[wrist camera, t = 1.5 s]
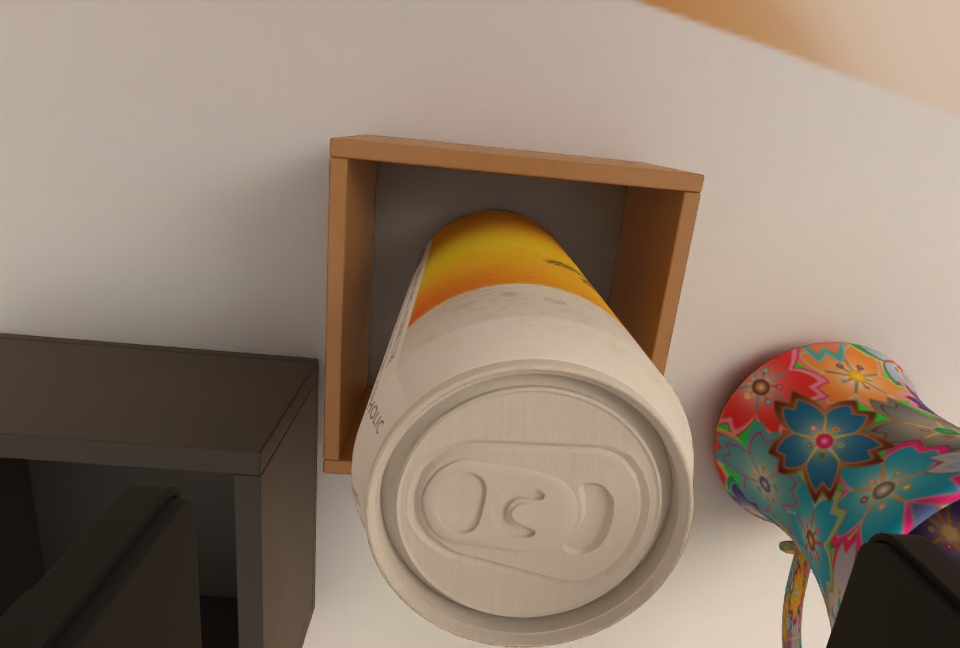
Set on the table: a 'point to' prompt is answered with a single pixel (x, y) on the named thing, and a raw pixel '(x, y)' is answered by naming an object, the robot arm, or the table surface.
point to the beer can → (519, 446)
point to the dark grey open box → (167, 468)
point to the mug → (838, 463)
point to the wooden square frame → (353, 165)
